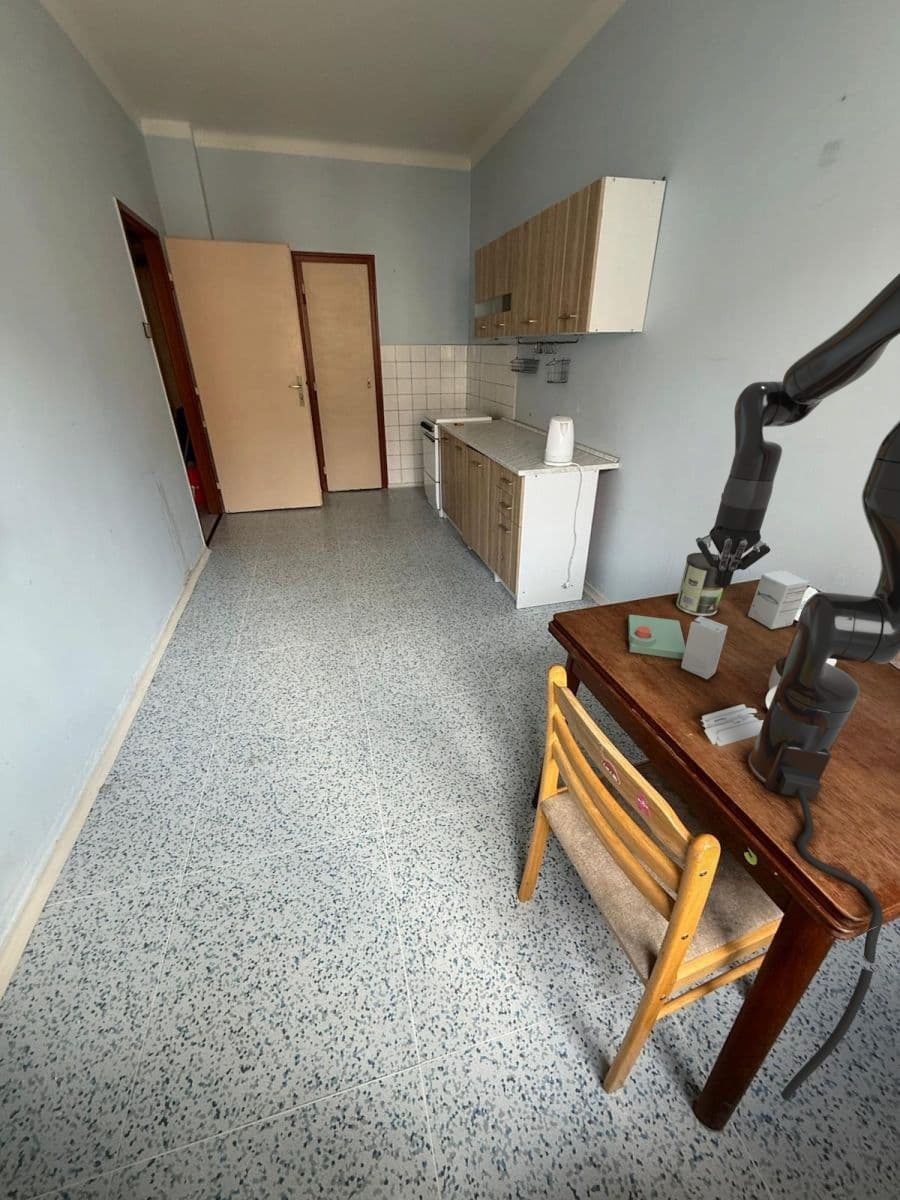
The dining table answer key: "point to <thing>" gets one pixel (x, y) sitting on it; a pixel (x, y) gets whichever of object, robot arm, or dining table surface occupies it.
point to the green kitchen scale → (656, 637)
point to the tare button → (643, 632)
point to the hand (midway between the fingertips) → (720, 586)
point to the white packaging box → (777, 599)
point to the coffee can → (699, 587)
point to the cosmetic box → (703, 647)
